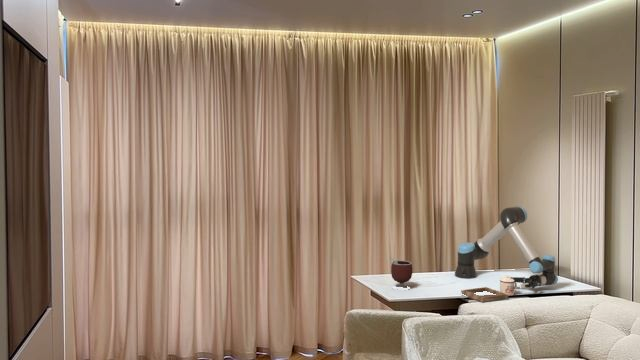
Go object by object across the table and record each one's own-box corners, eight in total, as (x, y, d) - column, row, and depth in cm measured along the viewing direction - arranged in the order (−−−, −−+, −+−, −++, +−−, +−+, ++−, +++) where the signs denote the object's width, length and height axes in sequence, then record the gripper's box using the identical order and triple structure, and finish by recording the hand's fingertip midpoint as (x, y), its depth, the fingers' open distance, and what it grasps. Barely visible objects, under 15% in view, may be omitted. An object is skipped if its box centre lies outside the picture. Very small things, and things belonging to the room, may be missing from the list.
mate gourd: (415, 287, 398) (416, 257, 397) (406, 292, 387) (406, 261, 385) (394, 284, 407) (395, 255, 405) (384, 288, 395) (385, 258, 394)
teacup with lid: (506, 296, 378) (506, 278, 377) (496, 292, 387) (497, 275, 386) (521, 294, 383) (521, 276, 382) (511, 291, 391) (511, 273, 391)
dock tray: (461, 294, 381) (461, 290, 381) (485, 291, 390) (485, 287, 389) (482, 302, 363) (482, 298, 363) (507, 299, 372) (508, 294, 371)
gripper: (551, 290, 383) (527, 294, 374) (522, 281, 406) (498, 285, 396) (552, 279, 383) (527, 282, 373) (523, 270, 405) (499, 273, 396)
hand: (512, 283), depth 385 cm, fingers open, 13 cm apart
